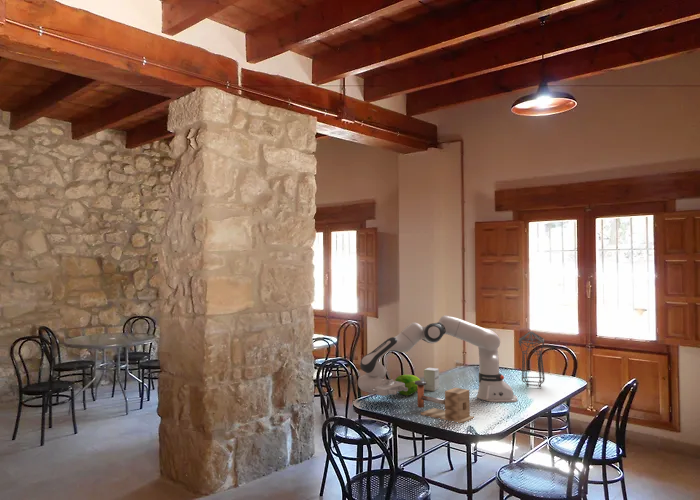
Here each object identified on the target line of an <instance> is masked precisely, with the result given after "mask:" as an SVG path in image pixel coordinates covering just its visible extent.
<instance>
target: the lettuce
mask: <svg viewBox="0 0 700 500" xmlns="http://www.w3.org/2000/svg"><path fill="white" fill-rule="evenodd" d="M418 380H421V379H420V378H419V377H417V375H413V374H403V375H401V374H400V375H398V376H396V378H395V380H394V381H398V382H402V383H404V384H405V387H406V388H408V391H404V390H402V391H399V392H398V394H399V395H401V396H410V395H412V394H414V393H415V392H417V385H416V384H415V381H418Z"/></svg>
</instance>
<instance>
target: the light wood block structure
mask: <svg viewBox="0 0 700 500" xmlns="http://www.w3.org/2000/svg"><path fill="white" fill-rule="evenodd" d="M444 400H445V405H444V409H442V408H441V409H440V408H435V407H432V408H429V409H427V410H423V411H422V412H420V415H422V416H425V415H426V417H429V416H430V418H433V417H434V419H438V418H440V419H439V420H442V419H444V420H443V421H446V420H448V421H447V422H451V421H454V422H453V423H455V422H458V423H457V424H459V423H463V424H465V423H464V422H466V421H468V422H470V421H472V420H474V419H475V416H472V415H471V414H470V413H471V411H470V409H471V408H470V407H471V406H470V405H471V404H470V400H471V399H470V389H464V388H459V387H454V388H451V389H447V390H445V391H444ZM473 418H474V419H473ZM471 419H472V420H471ZM469 420H470V421H469ZM466 423H467V422H466Z"/></svg>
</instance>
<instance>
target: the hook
mask: <svg viewBox="0 0 700 500" xmlns="http://www.w3.org/2000/svg"><path fill="white" fill-rule="evenodd" d="M415 384H416V385H417V391H416V392H417V402H416V403H417V408H419V409H422V408H424V407H425V401H426V402H429V403H435V404H440V405H444V406H445V398H443V399H442V398H437V397H433V396H429V395H428V396H427V395H425V390H424V385H426V381H424V380H421V379H420V380H418V381H415Z"/></svg>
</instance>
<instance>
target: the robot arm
mask: <svg viewBox="0 0 700 500" xmlns="http://www.w3.org/2000/svg"><path fill="white" fill-rule="evenodd" d="M444 335H449V336H451V337H453V338H456V339H460V340H461V341H464V342H467V343H469V344H471V345H474V346H475V347H478V357H479V358H478V359H479V363H478V364H479V366H478V367H479V368H478V369H479V372H478V391H477V394H476V398H478V399H479V400H483V401H487V402H491V403H492V402H493V403H494V402H495V403H496V402H497V403H501V402H502V403H505V402H507V403H514V402H517V401H518V397H517V396H516V395H515V394H514V390H513V388H512V387H511V386H510V384H508V383H507V382H505V381H504V379H505V377H504V375H503V374H502V373H500V358H499V351H498V348H499V347H500V345H501V338H500V336H499V335H498V334H497V333H496V332H495V331H493V330H492V329H489V328H484V327H482V326H479V325H476V324H474V323H472V322H469V321H467V320H464V319H462V318H458V317H455V316H451V315H442V316H441V317H440V318H439V320H438V322H434V323H429V324H428V325H426V326H422V325H421V324H420V323H418V322H411V323H409V324H408V325H407V326H406V327H405V328H404V329H402V331H400V333H398V334H397V335H396V336H394V337H393V336H392V337H389V338H387V339H386V340H385V341H384V342H382V343H381V344H380V345H378V346H377V347H376V348H375V349H373V350H372V351H371V352H369V353H367V354H366V355H364V356H363V357H362V358H361V360H360V363H359V364H360V365H359V366H360V369H361V370H362V371H363V372H364V374H363V375H361V376H359V377H358V379H357V385H358V388H359V389H360V390H361V391H363V392H366V393H370V394H375V395H379V396H383V397H384V396H389V395H397V394H398V393H399V391H402V390H404V391H408V388H406V387H405V384H404V383H402V382H398V381H395V380H394V379H392V378H386V376H387V368H386V367H385V365H383V364H382V363H381V361H379V360H380V359H382V357H385V355H386V354H388V353H389V352H390V351H396V352H399V353H408V352H409V351H411V350H412V349H413V348H414V347H415V345H417V344H418V343H419V342H420V341H424V342H426V343H427V344H436V343H438V342H439V341H440V340H441V339H442V338H443V337H444Z"/></svg>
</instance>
